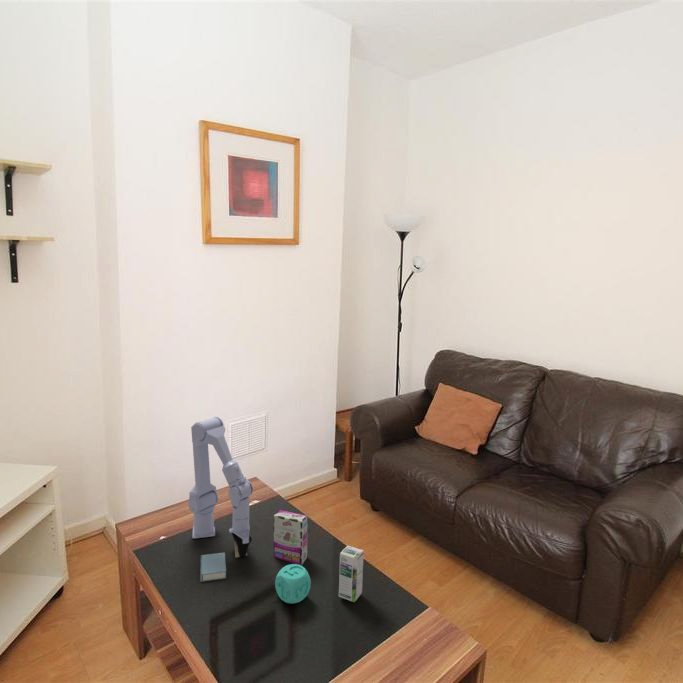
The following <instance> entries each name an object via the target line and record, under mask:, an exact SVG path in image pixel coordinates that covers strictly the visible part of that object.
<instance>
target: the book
mask: <svg viewBox="0 0 683 683" xmlns="http://www.w3.org/2000/svg"><path fill="white" fill-rule="evenodd" d="M226 565H227V564H226V552H218V553H207V554H201V555H200V571H199V572H200V575H199V576H200V583H202V582H209V581H216V580H224V579H227V566H226Z"/></svg>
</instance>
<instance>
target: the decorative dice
mask: <svg viewBox="0 0 683 683" xmlns="http://www.w3.org/2000/svg"><path fill="white" fill-rule="evenodd" d="M310 576H311V575H310V574H309V572H308V570H307V569H306V568H305V567H304V566H303V565H298V564H295V563H292V564H287V565H285V566H283V567H282V568H280V570H279V571H278V573H277V575H276V577H275V581H274V587H275V591H276V594H277V595H278V598H280V600H281V601H282V602H284V603H287V604H297V603H300V602H301V601H303V600H304V599H306V597H307V596H308V595H309V593H310V589H311V584H312V580H311V577H310Z"/></svg>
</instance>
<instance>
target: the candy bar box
mask: <svg viewBox="0 0 683 683" xmlns="http://www.w3.org/2000/svg"><path fill="white" fill-rule="evenodd" d="M308 516H309V515H305V514H301V513H295V512H291V511H287V510H283V509H282V510H281V509H279V510H278V512H276V513H275V514H274V515H273V553H272V554H273V557H274V558H277V559H280V560H283V561H285V562H290V563H292V564H298V565H301V566H303V565H304V562H305V561H307V559H308V532H309V530H308V528H309V527H308V526H309V524H308V522H309V520H308V519H309V517H308Z"/></svg>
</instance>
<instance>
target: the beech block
mask: <svg viewBox="0 0 683 683" xmlns="http://www.w3.org/2000/svg"><path fill="white" fill-rule="evenodd" d="M247 556H248V552H247V553H246V556H245V557H247ZM234 557H235V558H241V557H240V556H239V552H238V546H237V544H236V542H234Z"/></svg>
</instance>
